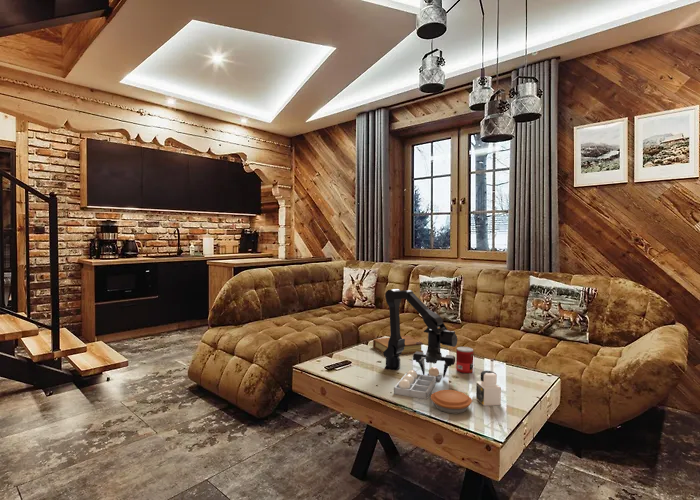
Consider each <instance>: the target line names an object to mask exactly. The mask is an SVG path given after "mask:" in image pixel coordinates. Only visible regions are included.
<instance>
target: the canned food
mask: <svg viewBox="0 0 700 500" xmlns="http://www.w3.org/2000/svg"><path fill="white" fill-rule="evenodd" d="M455 368H456V371H457V372H458V373H461V374H462V373H463V374H470V373H473V371H474V349H473V348H472V347H469V346H458V347H456V355H455Z"/></svg>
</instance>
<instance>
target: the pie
mask: <svg viewBox="0 0 700 500" xmlns="http://www.w3.org/2000/svg"><path fill="white" fill-rule="evenodd" d="M430 394H431V395H430V400H431V401H432V402H433V404H434V405H435V407H436V408H437V410H439V411H441V412H444V413H447V414H463V413H464V412H466V411H467V410H468V408H469V406H471V405H472V403H473V399H472V398H471V397H470V396H469V395H467V394H466V393H463V392H462V391H458V390H453V389H441V390H440V389H439V390H438V391H435V392H433V393H430Z"/></svg>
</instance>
